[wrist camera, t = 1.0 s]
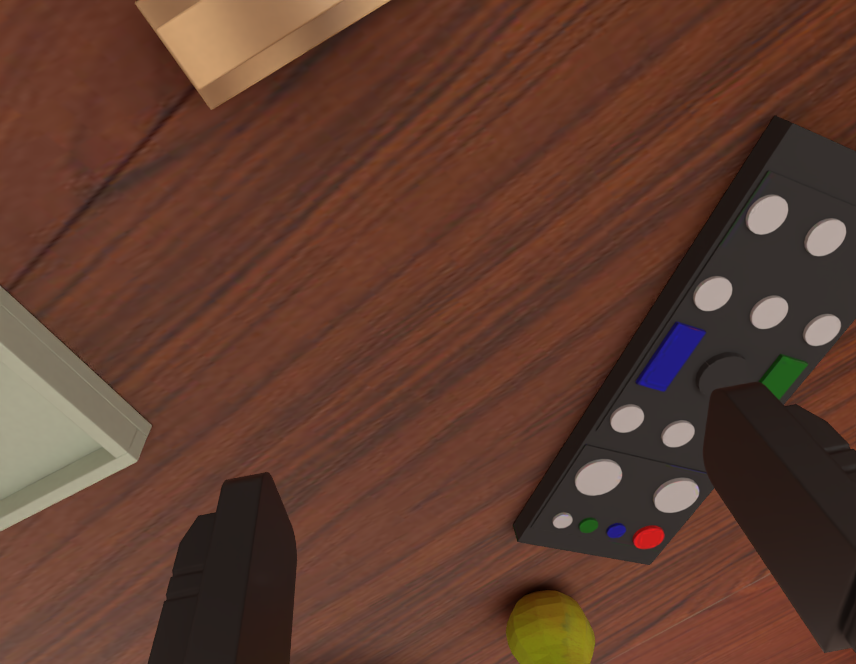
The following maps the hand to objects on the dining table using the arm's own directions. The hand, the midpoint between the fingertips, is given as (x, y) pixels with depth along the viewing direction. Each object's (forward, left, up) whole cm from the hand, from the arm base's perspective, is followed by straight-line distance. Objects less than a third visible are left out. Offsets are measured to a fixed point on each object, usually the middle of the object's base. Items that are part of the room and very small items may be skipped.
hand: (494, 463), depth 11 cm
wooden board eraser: (-8, -1, -21) cm, 23 cm away
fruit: (+37, -8, -21) cm, 44 cm away
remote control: (+22, +9, -21) cm, 32 cm away
